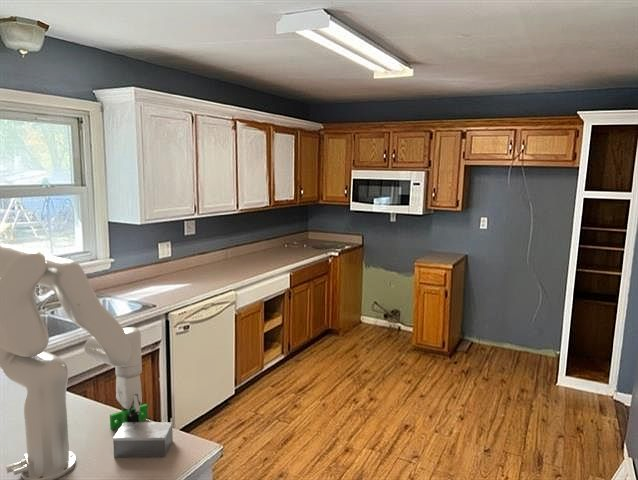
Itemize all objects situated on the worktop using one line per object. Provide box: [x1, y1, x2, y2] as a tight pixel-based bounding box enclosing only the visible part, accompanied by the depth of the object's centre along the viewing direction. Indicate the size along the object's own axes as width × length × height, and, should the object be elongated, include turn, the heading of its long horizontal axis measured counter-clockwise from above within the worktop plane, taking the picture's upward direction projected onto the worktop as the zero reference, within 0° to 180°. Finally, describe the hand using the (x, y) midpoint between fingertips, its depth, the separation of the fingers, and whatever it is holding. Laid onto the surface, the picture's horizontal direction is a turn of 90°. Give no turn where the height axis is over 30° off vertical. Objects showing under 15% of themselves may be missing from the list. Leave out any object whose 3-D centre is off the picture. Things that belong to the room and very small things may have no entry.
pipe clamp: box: [109, 403, 149, 431], centre depth 146 cm, size 11×4×5 cm, turn 131°
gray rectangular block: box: [112, 421, 174, 459], centre depth 133 cm, size 14×8×6 cm, turn 93°
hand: (130, 422), depth 146 cm, fingers closed on pipe clamp, 3 cm apart
